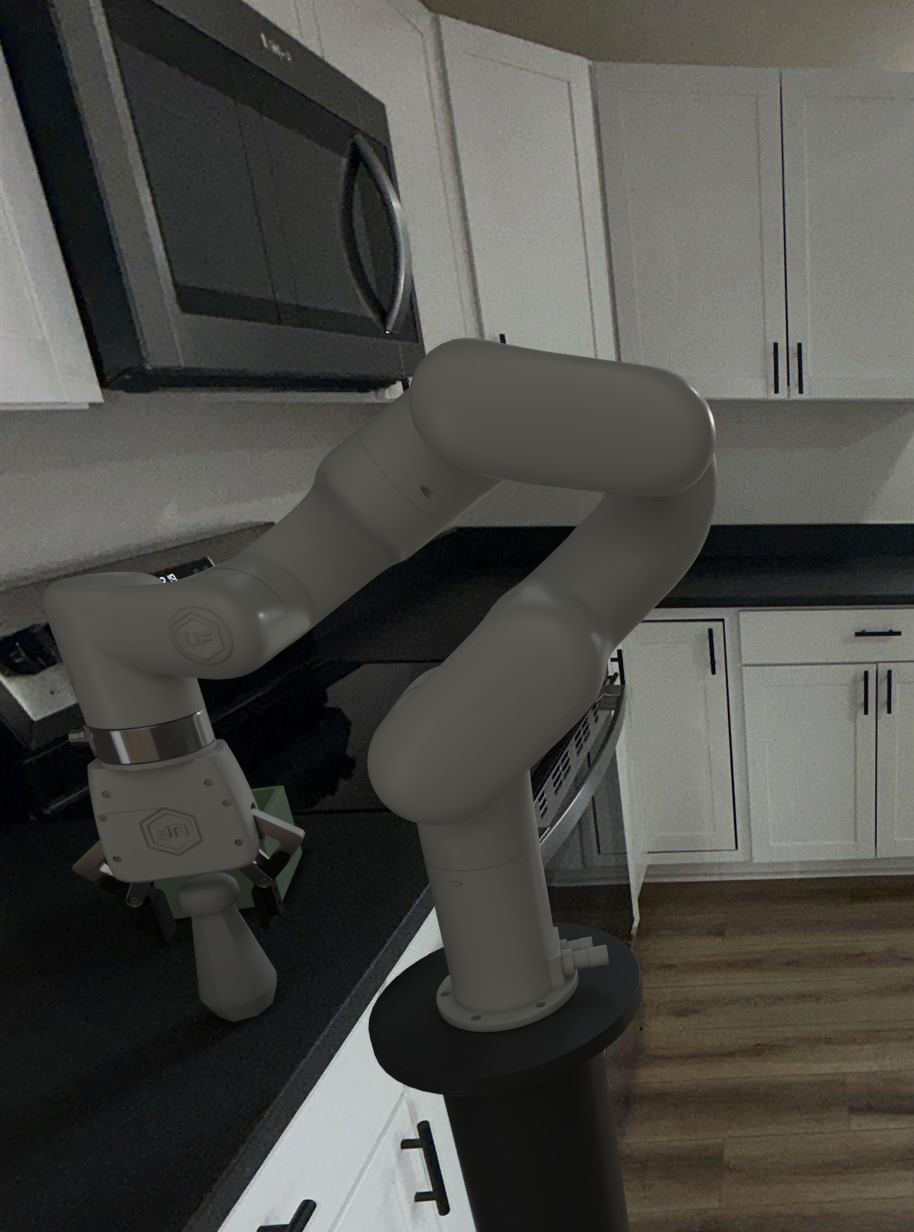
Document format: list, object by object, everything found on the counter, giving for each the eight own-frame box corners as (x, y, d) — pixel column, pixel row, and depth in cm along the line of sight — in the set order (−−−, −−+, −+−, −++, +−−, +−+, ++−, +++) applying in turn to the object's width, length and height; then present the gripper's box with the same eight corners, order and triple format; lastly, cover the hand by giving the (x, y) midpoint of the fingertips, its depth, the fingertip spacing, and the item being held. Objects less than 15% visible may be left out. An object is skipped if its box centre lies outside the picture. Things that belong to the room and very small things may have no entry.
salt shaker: (196, 1011, 82) (149, 884, 77) (264, 980, 86) (225, 857, 81) (226, 1036, 79) (180, 904, 73) (295, 1002, 83) (256, 876, 78)
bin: (302, 852, 110) (283, 785, 106) (282, 902, 99) (259, 829, 95) (180, 870, 106) (156, 800, 102) (145, 924, 95) (117, 848, 92)
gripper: (-5, 768, 66) (81, 974, 73) (271, 738, 71) (326, 933, 79) (39, 734, 72) (115, 927, 80) (290, 709, 78) (339, 892, 85)
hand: (219, 929), depth 79 cm, fingers open, 7 cm apart
